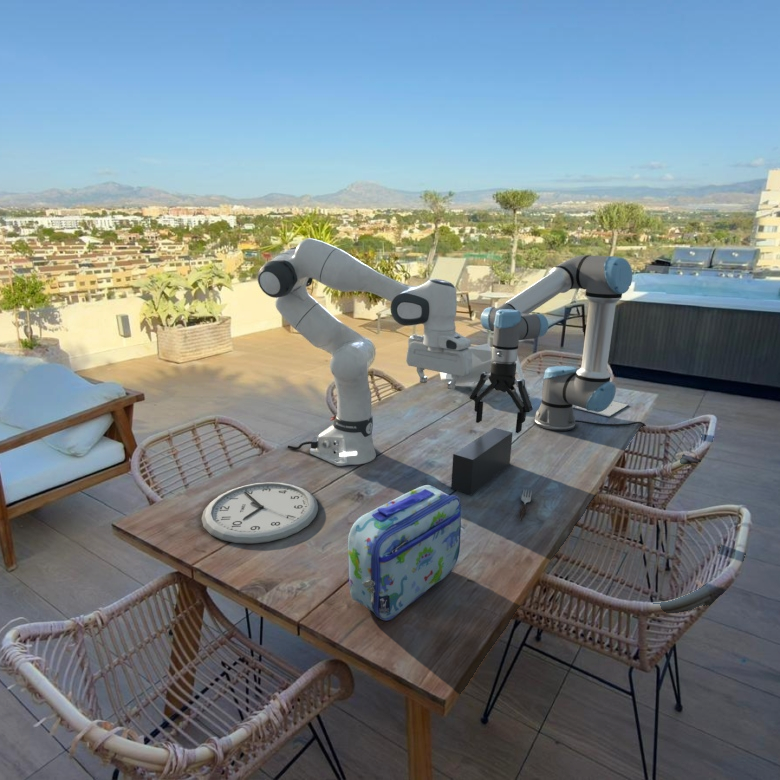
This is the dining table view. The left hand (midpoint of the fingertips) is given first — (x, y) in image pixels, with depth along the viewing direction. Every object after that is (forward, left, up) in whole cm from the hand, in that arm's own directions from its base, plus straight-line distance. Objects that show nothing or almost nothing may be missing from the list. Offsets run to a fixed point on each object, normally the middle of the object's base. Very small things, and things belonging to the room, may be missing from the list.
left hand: (437, 385), depth 151 cm
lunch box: (+18, -50, -29) cm, 61 cm away
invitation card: (+32, +100, -29) cm, 109 cm away
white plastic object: (-20, +90, -29) cm, 97 cm away
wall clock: (-30, -43, -29) cm, 60 cm away
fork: (+29, -3, -29) cm, 42 cm away
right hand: (+13, +19, -16) cm, 28 cm away
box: (+12, +9, -29) cm, 33 cm away
